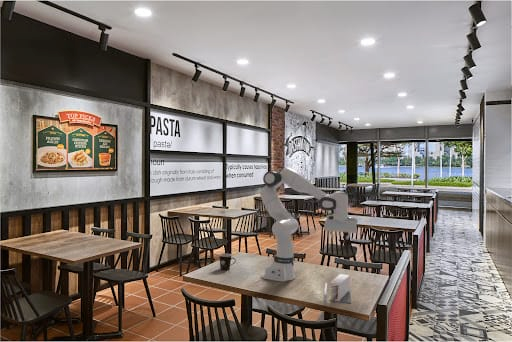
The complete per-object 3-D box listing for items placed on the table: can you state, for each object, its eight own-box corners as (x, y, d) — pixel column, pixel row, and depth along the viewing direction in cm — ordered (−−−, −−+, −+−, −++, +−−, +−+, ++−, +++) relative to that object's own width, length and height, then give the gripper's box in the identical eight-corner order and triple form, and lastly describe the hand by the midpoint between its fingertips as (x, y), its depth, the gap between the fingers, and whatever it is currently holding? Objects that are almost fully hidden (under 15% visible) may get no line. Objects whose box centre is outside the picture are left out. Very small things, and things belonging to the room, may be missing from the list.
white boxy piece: (340, 289, 211) (340, 273, 211) (349, 291, 208) (349, 275, 208) (329, 299, 194) (329, 282, 194) (338, 302, 191) (339, 284, 191)
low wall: (323, 300, 193) (324, 294, 193) (325, 288, 213) (325, 283, 213) (326, 301, 193) (326, 294, 193) (327, 288, 213) (327, 283, 213)
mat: (332, 301, 192) (332, 300, 192) (332, 289, 212) (332, 288, 212) (351, 303, 190) (351, 302, 190) (349, 291, 210) (349, 290, 210)
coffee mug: (216, 268, 249) (216, 254, 248) (226, 266, 254) (226, 252, 254) (226, 272, 240) (226, 258, 240) (236, 270, 246) (236, 256, 246)
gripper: (357, 217, 224) (356, 238, 224) (324, 215, 229) (324, 236, 229) (357, 218, 218) (357, 240, 218) (324, 216, 222) (323, 238, 223)
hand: (339, 238), depth 223 cm, fingers open, 8 cm apart
